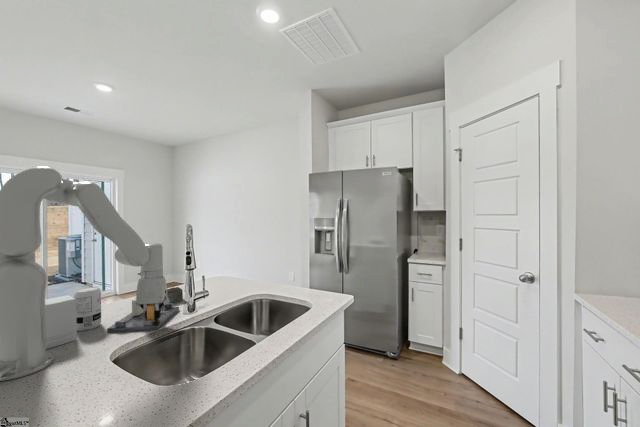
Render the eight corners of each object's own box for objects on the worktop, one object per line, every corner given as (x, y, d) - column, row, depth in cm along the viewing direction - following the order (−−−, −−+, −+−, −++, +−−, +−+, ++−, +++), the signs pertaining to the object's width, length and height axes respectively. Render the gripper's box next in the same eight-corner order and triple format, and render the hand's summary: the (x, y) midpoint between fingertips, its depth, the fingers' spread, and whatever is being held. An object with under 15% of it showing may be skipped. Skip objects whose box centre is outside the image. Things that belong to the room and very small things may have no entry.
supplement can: (70, 329, 107) (69, 291, 107) (95, 321, 114) (94, 285, 114) (80, 333, 103) (79, 293, 103) (105, 325, 110) (104, 288, 110)
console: (157, 329, 105) (157, 320, 105) (107, 332, 103) (107, 323, 103) (179, 310, 126) (178, 302, 126) (137, 312, 124) (137, 304, 124)
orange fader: (153, 322, 108) (153, 305, 108) (147, 322, 108) (146, 305, 108) (158, 318, 112) (158, 302, 112) (152, 318, 112) (151, 302, 112)
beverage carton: (136, 306, 132) (136, 293, 132) (178, 298, 145) (178, 285, 145) (139, 311, 126) (139, 297, 126) (183, 301, 140) (183, 288, 140)
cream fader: (138, 315, 115) (138, 299, 115) (132, 315, 115) (131, 300, 115) (143, 311, 119) (143, 296, 119) (137, 312, 119) (137, 297, 119)
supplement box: (77, 340, 98) (77, 298, 97) (42, 350, 90) (42, 305, 90) (69, 333, 103) (69, 294, 102) (35, 343, 95) (35, 301, 95)
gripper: (125, 277, 105) (125, 324, 105) (169, 275, 107) (170, 322, 107) (136, 272, 113) (136, 317, 113) (177, 271, 114) (177, 315, 115)
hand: (152, 319), depth 110 cm, fingers closed on orange fader, 2 cm apart
